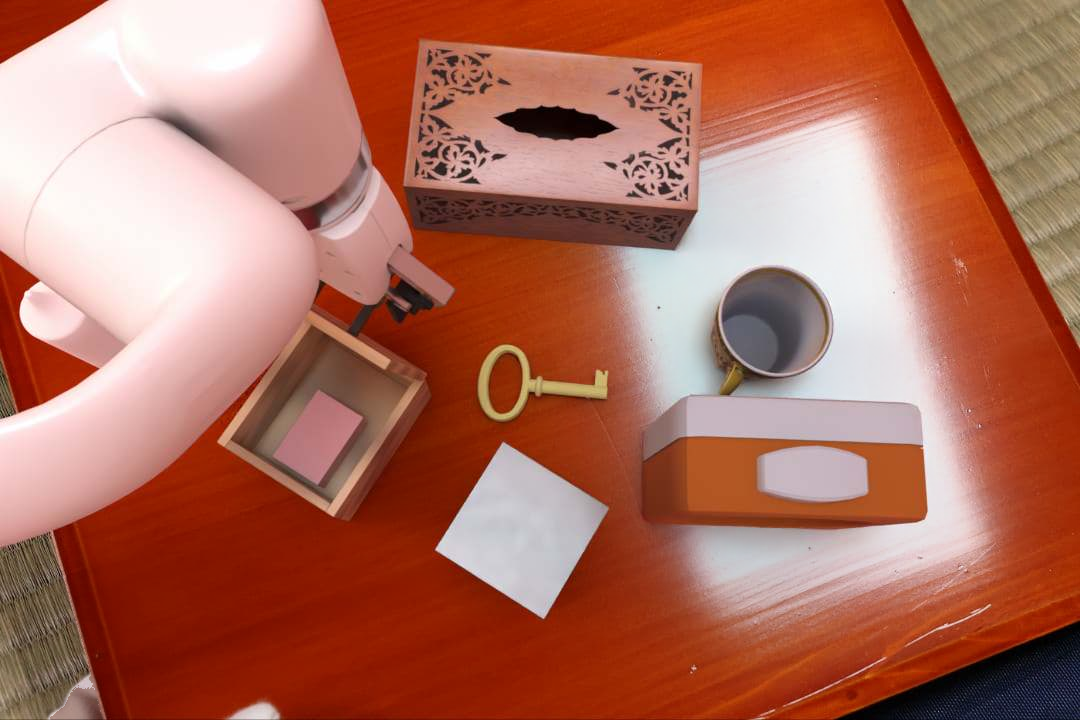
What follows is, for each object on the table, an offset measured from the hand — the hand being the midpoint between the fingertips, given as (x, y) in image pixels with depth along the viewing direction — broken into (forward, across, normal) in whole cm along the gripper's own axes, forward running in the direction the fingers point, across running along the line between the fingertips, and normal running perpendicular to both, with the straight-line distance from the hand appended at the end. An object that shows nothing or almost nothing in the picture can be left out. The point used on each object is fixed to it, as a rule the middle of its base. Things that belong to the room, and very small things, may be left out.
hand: (350, 267), depth 59 cm
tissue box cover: (+24, +3, +23) cm, 33 cm away
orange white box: (+24, +34, +7) cm, 42 cm away
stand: (+23, +19, -9) cm, 31 cm away
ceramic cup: (+24, +28, +16) cm, 41 cm away
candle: (+23, -16, -13) cm, 31 cm away
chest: (+23, 0, -9) cm, 25 cm away
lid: (+8, 0, -3) cm, 9 cm away
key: (+24, +14, +4) cm, 28 cm away
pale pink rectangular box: (+22, 0, -11) cm, 25 cm away
